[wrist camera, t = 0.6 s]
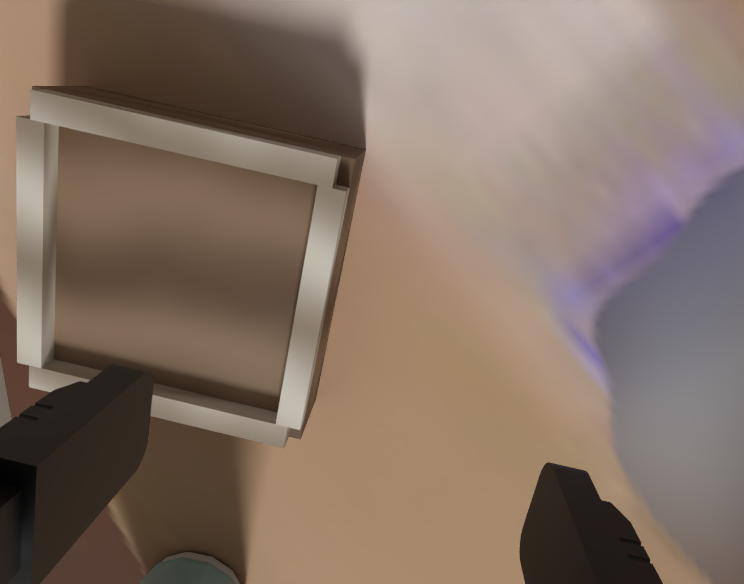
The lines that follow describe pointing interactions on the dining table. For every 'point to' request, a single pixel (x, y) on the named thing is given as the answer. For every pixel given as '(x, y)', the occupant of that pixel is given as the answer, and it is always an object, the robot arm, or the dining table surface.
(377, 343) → the dining table surface
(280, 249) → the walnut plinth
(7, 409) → the small box
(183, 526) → the dining table surface
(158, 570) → the disposable coffee cup
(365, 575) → the dining table surface
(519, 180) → the dining table surface
